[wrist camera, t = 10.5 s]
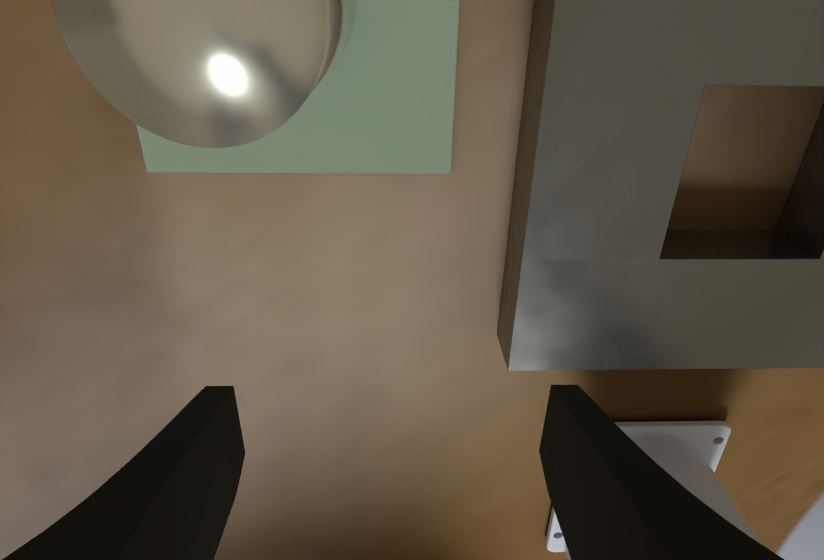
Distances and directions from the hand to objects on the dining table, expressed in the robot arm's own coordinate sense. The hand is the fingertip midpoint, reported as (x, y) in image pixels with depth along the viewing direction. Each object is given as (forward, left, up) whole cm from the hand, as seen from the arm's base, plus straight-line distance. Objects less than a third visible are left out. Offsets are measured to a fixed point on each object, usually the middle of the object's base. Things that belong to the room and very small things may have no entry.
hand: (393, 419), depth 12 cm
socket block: (+3, -13, -10) cm, 17 cm away
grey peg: (+8, +3, -10) cm, 13 cm away
